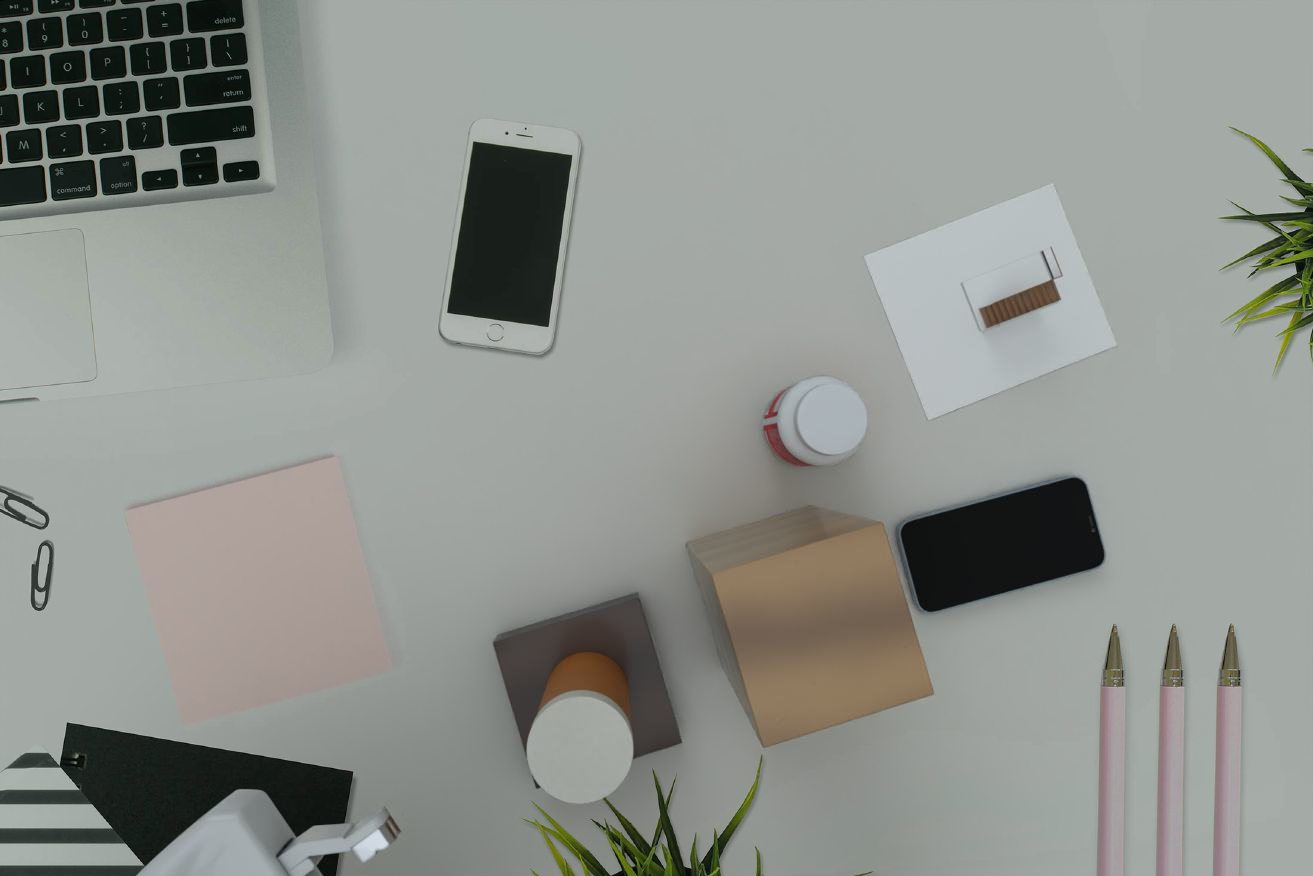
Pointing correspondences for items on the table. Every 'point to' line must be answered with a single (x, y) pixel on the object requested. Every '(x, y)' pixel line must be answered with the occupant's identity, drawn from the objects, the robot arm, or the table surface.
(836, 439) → the pill bottle
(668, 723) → the walnut block
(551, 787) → the amber bottle
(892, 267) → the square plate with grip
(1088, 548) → the smartphone
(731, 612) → the oak stand
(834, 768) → the table surface
